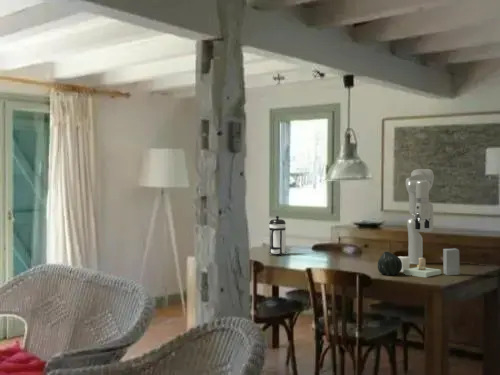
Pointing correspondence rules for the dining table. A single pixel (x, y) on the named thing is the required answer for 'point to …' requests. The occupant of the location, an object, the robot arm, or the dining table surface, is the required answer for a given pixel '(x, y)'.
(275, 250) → the coffee press
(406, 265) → the block
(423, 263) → the peg
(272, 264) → the dining table surface
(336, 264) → the dining table surface
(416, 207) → the robot arm
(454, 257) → the skincare box
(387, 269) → the squash
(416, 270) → the peg board
